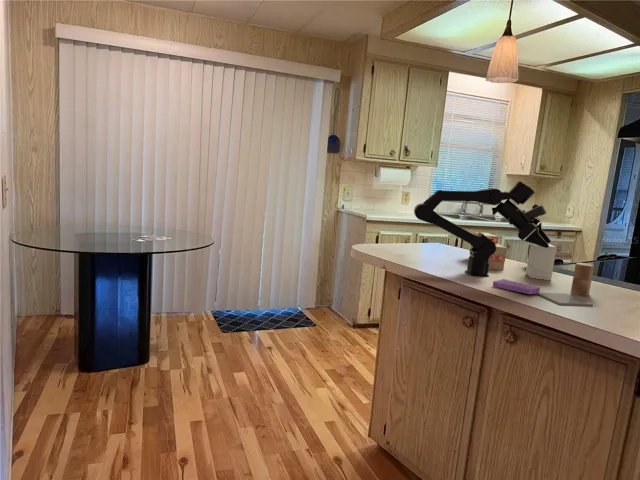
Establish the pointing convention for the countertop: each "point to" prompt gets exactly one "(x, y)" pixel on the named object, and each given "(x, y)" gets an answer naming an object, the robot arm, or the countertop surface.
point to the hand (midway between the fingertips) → (549, 244)
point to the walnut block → (582, 279)
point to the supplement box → (541, 261)
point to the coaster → (564, 299)
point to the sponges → (516, 286)
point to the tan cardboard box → (499, 256)
